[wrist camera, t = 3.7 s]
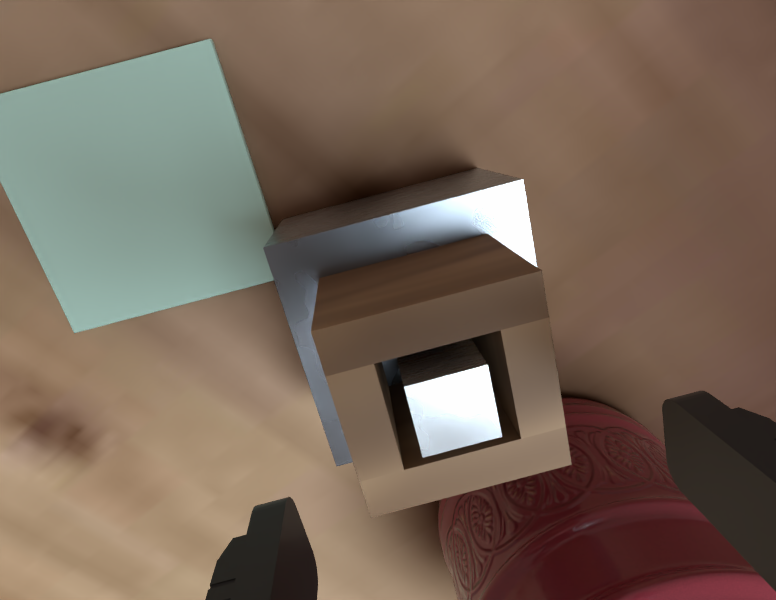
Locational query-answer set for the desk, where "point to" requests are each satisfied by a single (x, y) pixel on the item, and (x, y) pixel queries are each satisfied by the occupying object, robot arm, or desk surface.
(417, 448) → the hollow wooden block
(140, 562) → the desk surface
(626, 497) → the canister
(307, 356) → the block
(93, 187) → the mat
